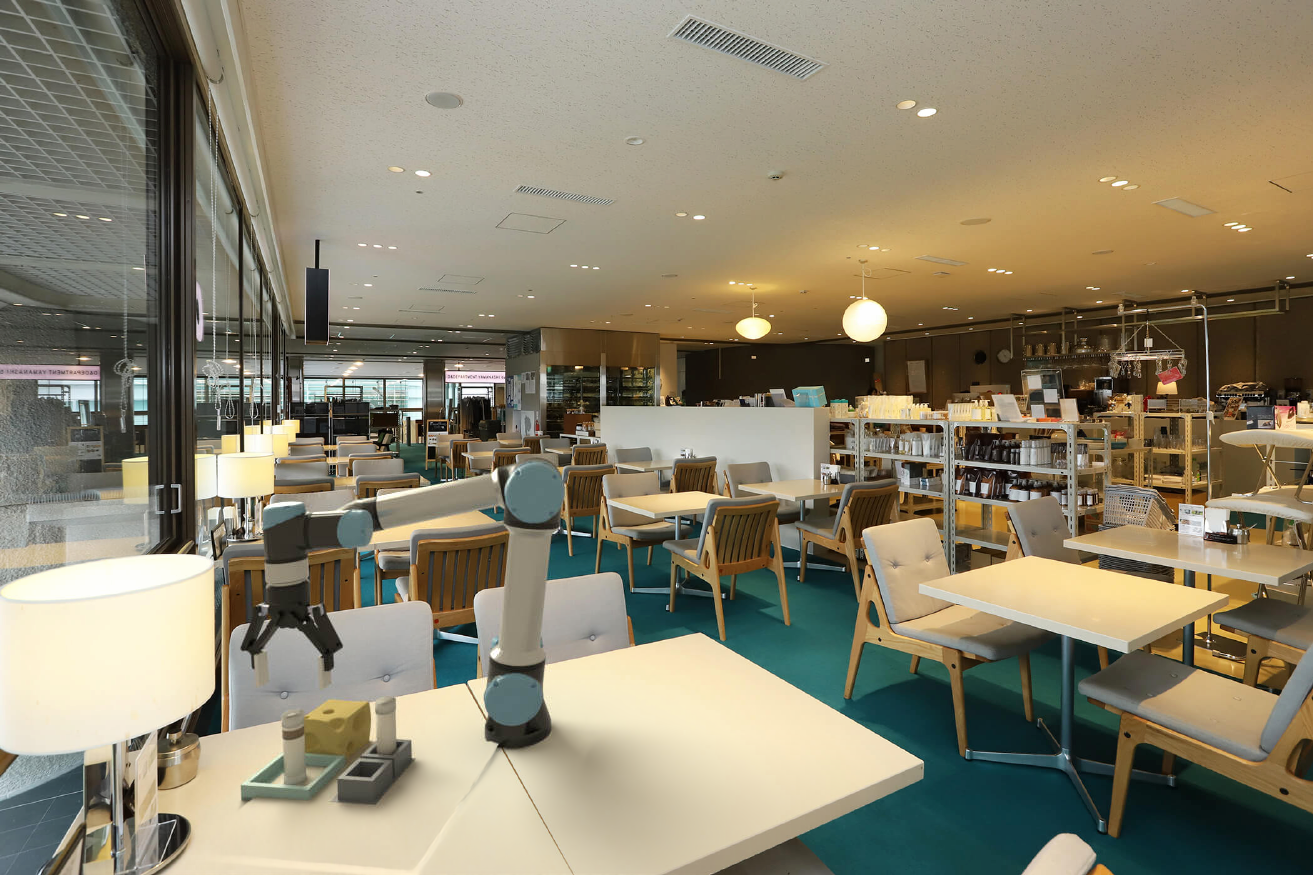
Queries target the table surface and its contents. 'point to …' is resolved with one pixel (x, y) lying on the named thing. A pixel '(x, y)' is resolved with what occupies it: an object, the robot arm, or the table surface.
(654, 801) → the table surface
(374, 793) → the fuse block
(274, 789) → the pale green rectangular frame
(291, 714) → the banded white cylinder
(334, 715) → the cheese
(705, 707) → the table surface
